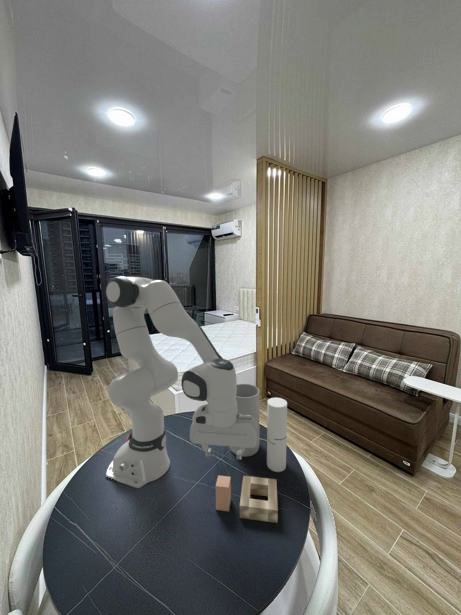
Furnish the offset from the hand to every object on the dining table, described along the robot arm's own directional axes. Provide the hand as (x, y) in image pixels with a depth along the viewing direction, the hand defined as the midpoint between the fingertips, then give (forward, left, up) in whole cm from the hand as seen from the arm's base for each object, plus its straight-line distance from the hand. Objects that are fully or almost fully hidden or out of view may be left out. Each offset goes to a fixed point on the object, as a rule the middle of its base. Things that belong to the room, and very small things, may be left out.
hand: (223, 456), depth 73 cm
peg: (0, 0, -16) cm, 16 cm away
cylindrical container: (+17, +19, -17) cm, 30 cm away
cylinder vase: (+4, +27, -17) cm, 32 cm away
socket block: (+11, +2, -16) cm, 20 cm away
